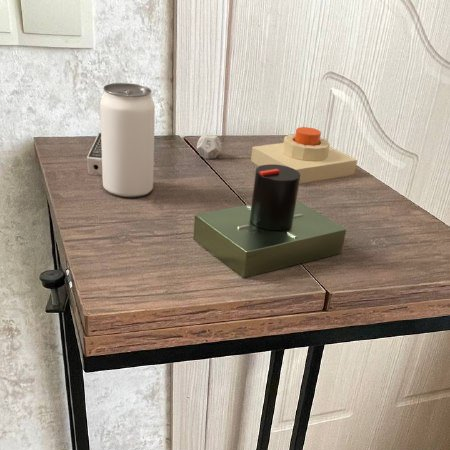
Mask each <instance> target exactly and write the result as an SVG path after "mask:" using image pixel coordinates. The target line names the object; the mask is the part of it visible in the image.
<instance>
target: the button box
mask: <svg viewBox="0 0 450 450" xmlns="http://www.w3.org/2000/svg"><path fill="white" fill-rule="evenodd" d="M295 135H296V133H291V134H288V135H285V136H284V138H283V142H280V143H271V144H263V145H256V146H252V148H251V157H250V162H252V163H253V164H255V165H256V166H257V167H259V166H262V165H269V164H274V165H283V166H287V167H290V168H293V169H295V170H297V171H298V172H299V173H300V182H299V185H300V184H301V185H302V184H307V183H311V182H312V183H313V182H318V181H319V182H320V181H325V180H330V179H335V178H341V177H347V176H353V175H355V172H356V168H357V164H358V159H356V158H354V157H353V156H350V155H348V154H346V153H344V152H342V151H340V150H338V149H335V148H333V147H332V146H331V145H330V142H329V141H328V140H327V139H325V138H323V137H321V136H320V141H319V145H316V146H310V145H302V144H299V143H297V142H295Z"/></svg>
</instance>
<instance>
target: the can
mask: <svg viewBox="0 0 450 450" xmlns="http://www.w3.org/2000/svg"><path fill="white" fill-rule="evenodd" d="M99 109H100V110H99V111H100V133H101V146H102V174H103V176H102V187H103V188H104V189H105V191H106V192H107V193H109V194H110V195H112V196H116V197H120V198H129V199H131V198H142V197H144V196H145V197H146V196H147V195H149V194H150V193H151V192H152V190H153V188H154V173H155V169H154V168H155V166H154V165H155V113H156V112H155V111H156V110H155V102H154V100H153V97H152V90H151V88H150V87H148V86H145V85H142V84H138V83H130V82H113V83H112V82H111V83H108V84H105V85H104V86H103V94H102V96H101V99H100V107H99Z"/></svg>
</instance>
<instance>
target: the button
mask: <svg viewBox="0 0 450 450" xmlns="http://www.w3.org/2000/svg"><path fill="white" fill-rule="evenodd" d="M295 134H296V135H295V142H297V143H299V144H302V145H310V146H316V145H319V141H320V137H321V136H322V132H321V130H319V129H317V128H312V127H309V126H301V127H297V128H296V129H295Z"/></svg>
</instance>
